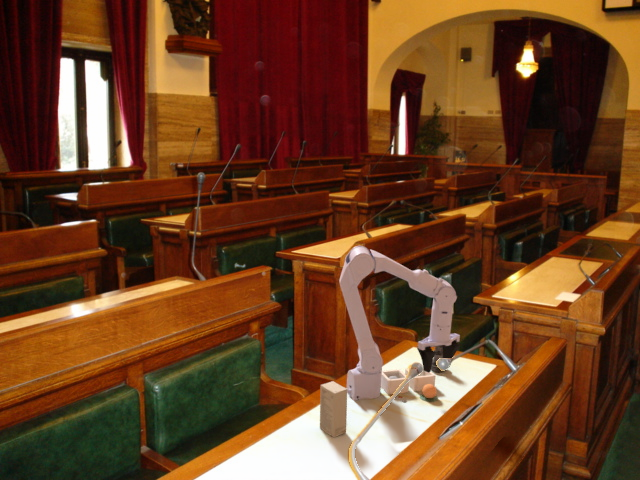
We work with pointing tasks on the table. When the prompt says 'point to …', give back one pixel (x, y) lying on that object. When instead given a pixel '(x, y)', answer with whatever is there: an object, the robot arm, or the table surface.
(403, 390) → the open square box
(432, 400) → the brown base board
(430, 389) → the orange ball
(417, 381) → the beige open box
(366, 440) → the table surface
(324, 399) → the skincare box
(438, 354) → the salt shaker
